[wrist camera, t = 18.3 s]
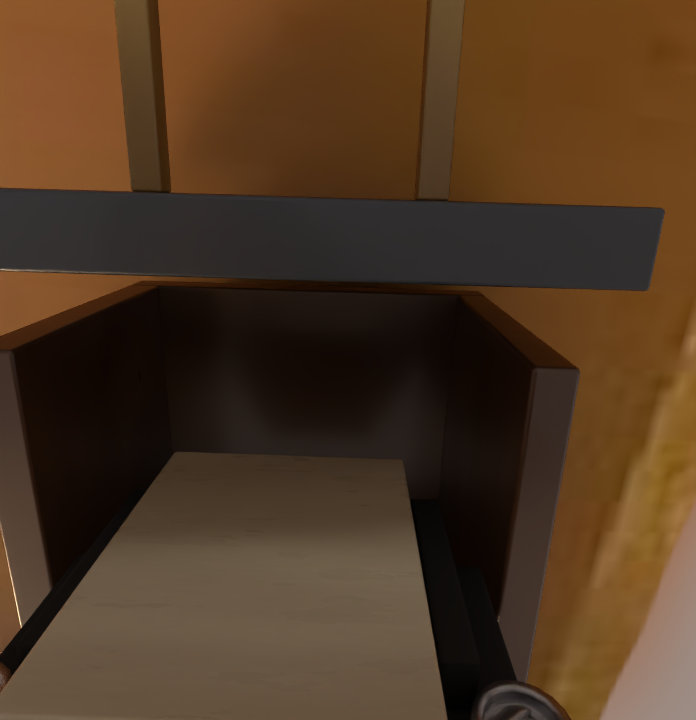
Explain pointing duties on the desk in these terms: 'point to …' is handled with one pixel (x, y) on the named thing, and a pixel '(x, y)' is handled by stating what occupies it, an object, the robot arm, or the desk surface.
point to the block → (246, 602)
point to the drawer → (299, 340)
